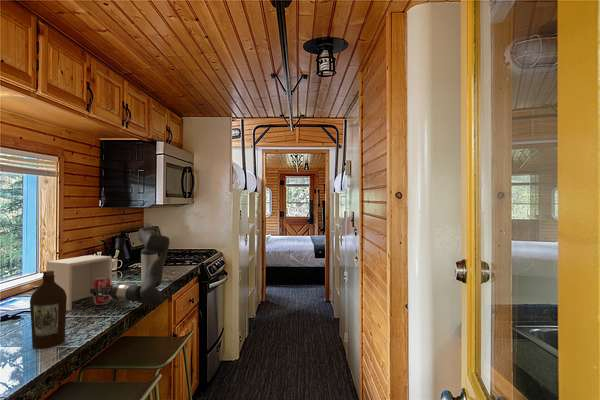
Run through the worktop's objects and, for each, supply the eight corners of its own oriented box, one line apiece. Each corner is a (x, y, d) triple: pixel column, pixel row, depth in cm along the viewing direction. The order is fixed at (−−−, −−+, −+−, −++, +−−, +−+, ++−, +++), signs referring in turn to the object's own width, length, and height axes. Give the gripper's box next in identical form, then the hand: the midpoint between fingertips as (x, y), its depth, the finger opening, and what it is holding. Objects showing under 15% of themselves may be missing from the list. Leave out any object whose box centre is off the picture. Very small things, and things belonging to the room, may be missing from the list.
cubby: (47, 307, 173) (46, 261, 173) (90, 295, 194) (90, 254, 194) (69, 310, 167) (68, 263, 167) (111, 298, 188) (111, 256, 188)
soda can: (113, 301, 177) (113, 276, 177) (102, 305, 170) (101, 279, 170) (101, 300, 179) (101, 275, 179) (89, 304, 172) (89, 279, 172)
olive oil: (34, 340, 132) (34, 270, 132) (69, 335, 136) (68, 267, 136) (26, 351, 122) (25, 275, 122) (63, 346, 126) (63, 272, 126)
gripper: (136, 280, 176) (111, 278, 182) (110, 287, 162) (84, 284, 169) (136, 296, 176) (111, 293, 182) (110, 304, 162) (84, 300, 169)
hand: (98, 289), depth 176 cm, fingers closed on soda can, 7 cm apart
